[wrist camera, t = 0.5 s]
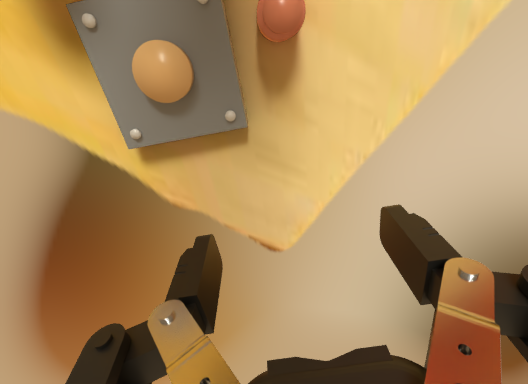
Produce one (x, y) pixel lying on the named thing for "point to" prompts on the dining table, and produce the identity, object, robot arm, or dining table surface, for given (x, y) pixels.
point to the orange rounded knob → (280, 18)
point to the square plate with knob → (163, 66)
